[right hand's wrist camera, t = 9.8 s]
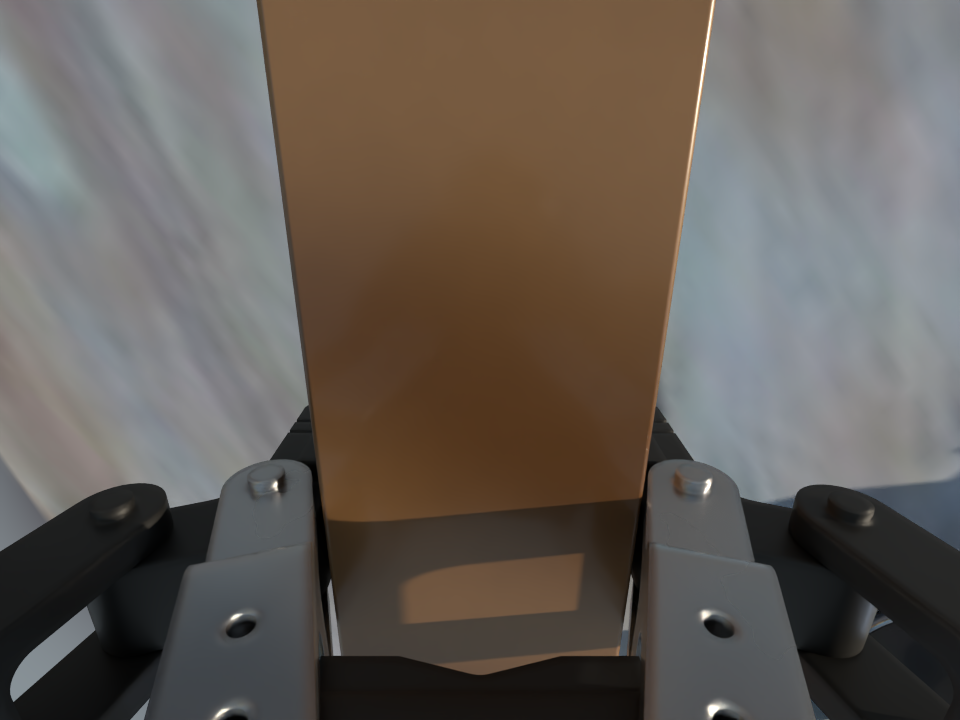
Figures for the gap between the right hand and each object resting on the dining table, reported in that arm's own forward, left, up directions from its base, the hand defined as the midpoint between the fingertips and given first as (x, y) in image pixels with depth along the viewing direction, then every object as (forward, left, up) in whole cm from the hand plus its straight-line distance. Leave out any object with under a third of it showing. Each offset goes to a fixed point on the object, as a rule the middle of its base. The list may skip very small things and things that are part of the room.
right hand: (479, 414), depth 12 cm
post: (+22, +10, -3) cm, 25 cm away
